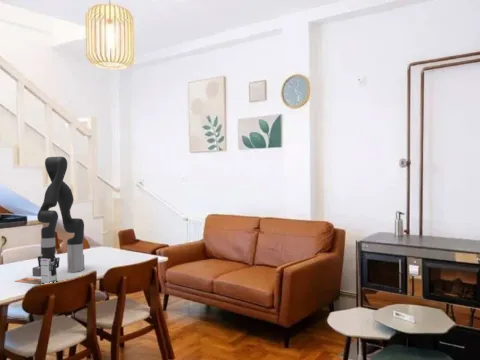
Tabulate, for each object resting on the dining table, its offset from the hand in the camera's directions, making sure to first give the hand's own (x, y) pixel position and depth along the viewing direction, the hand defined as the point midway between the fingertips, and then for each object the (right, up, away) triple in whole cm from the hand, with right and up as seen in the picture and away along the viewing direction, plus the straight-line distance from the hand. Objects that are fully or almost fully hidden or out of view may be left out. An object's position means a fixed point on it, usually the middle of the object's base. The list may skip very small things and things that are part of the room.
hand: (48, 275), depth 222 cm
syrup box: (0, -5, 0) cm, 5 cm away
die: (-14, -4, +17) cm, 22 cm away
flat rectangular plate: (-8, -5, +3) cm, 10 cm away
